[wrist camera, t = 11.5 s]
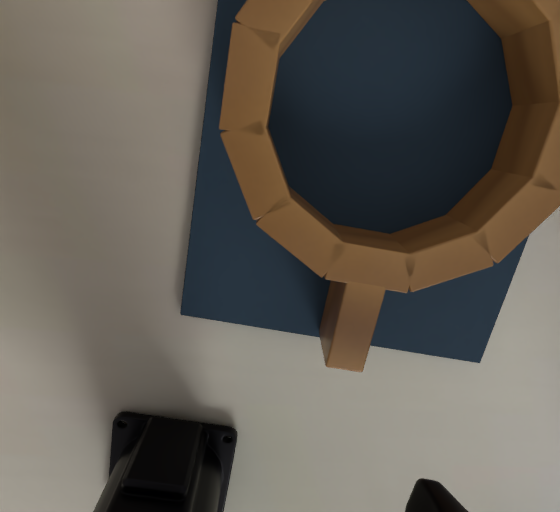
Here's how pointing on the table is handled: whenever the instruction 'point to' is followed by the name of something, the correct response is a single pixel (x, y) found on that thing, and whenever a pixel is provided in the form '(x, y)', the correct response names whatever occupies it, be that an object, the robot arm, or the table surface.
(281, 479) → the table surface
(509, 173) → the hoop
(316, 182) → the mat
